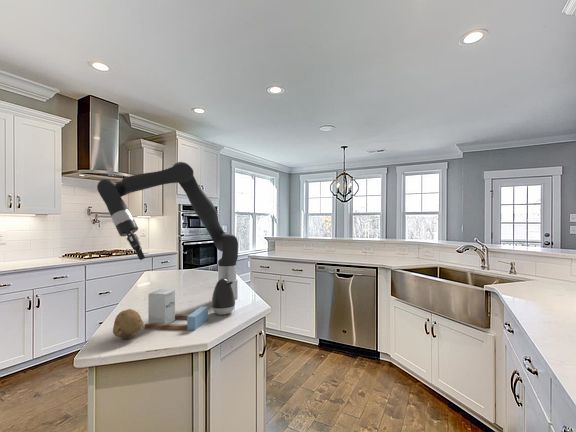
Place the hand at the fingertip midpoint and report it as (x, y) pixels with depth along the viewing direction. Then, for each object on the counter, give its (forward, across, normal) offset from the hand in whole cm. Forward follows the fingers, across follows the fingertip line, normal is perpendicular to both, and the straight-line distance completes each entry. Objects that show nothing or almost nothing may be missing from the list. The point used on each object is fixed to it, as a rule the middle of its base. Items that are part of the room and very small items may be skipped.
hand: (142, 259), depth 127 cm
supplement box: (+27, +1, -4) cm, 28 cm away
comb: (+30, +3, 0) cm, 30 cm away
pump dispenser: (+37, -3, +19) cm, 41 cm away
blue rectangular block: (+34, +7, +8) cm, 36 cm away
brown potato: (+26, +14, -14) cm, 33 cm away
